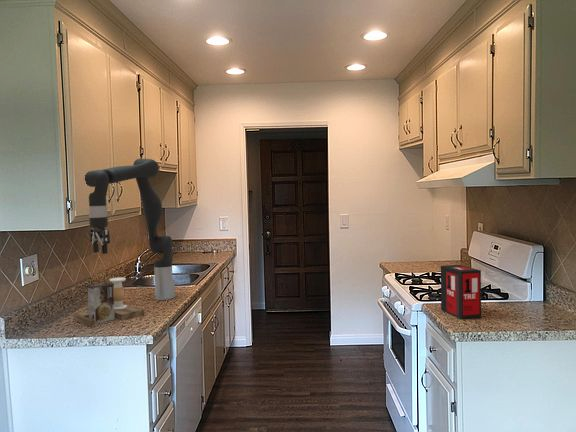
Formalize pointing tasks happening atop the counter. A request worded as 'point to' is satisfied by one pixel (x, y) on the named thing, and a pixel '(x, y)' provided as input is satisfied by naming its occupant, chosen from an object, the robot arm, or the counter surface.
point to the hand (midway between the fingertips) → (100, 253)
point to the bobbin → (118, 293)
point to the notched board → (119, 314)
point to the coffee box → (101, 302)
